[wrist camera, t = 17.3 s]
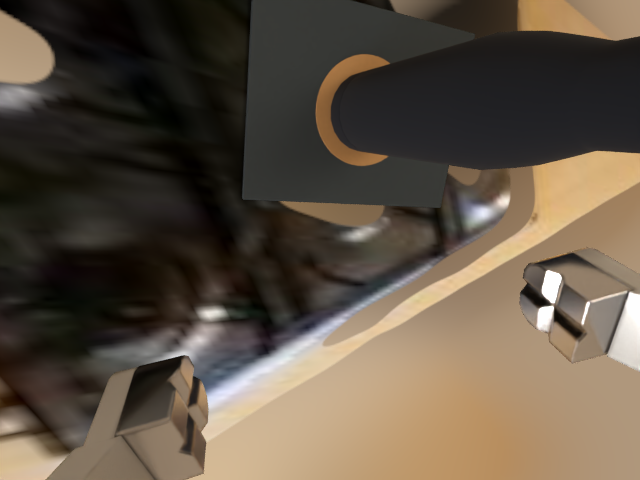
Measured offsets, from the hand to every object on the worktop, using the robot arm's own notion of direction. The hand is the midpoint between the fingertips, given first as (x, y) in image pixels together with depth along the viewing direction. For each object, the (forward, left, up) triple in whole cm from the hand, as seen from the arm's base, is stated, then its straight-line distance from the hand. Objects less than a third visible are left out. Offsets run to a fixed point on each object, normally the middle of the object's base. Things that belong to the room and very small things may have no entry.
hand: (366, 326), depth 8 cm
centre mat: (-7, +11, -23) cm, 26 cm away
